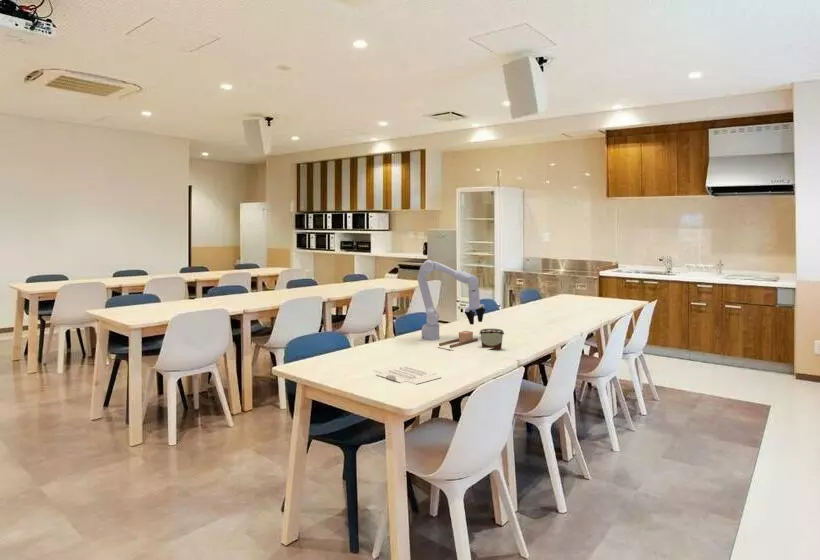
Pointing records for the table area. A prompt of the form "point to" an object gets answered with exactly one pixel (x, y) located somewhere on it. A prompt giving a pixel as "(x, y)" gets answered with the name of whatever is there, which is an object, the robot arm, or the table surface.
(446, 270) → the robot arm
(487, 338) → the food container
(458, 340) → the chute
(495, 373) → the table surface
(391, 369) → the white printed sheet
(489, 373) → the table surface
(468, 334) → the block
